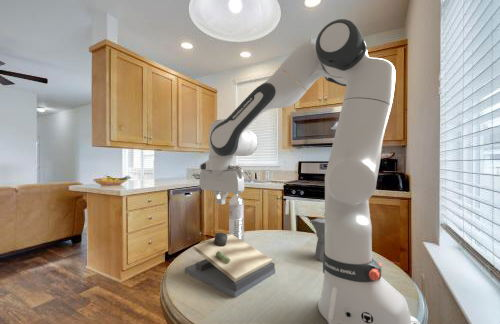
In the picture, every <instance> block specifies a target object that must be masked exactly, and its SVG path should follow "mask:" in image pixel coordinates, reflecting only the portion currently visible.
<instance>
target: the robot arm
mask: <svg viewBox="0 0 500 324" xmlns="http://www.w3.org/2000/svg"><path fill="white" fill-rule="evenodd" d="M321 78H325V81H327V82H329V83H333V84H336V85H339V86H341V87H342V86H343V87H345V88H346V89H345V92H344V97H343V101H342V106H341V108H340V113H339V117H338V120H337V125H336V129H335V134H334V138H333V142H332V147H331V150H330V155H329V158H328V159H329V160H328V162H327V167H326V171H325V173H324V214H325V215H324V218H325V251H324V252H323V262H322V273H323V281H322V288H321V293H320V297H319V301H318V304H317V307H318V308H317V309H318V311H319V313H320V315H322V317H323V318H324V319H325V320H326V322H327V324H421V323H420V321H419V320H418V319H417V318H416V317H414V316H412V315H411V312H410V309H409V305H408V303H407V300H406V298H405V297H404V295H402V293H400V292H399V291H398V290H397V289H395V288H394V287H393V286H392V284H391V283H389V282H387V280H386V279H384V277H382V265H383V264H382V261H380V262H379V263H378V262H377V261H376V260H375V259H374V258H373V255H372V254H373V248H372V247H373V244H372V243H373V237H372V236H373V235H372V234H373V226H372V221H371V213H370V202H369V201H370V200H369V199H370V198H371V197H372V196H373V194H374V193H375V191H376V188H377V181H378V176H379V169H380V165H381V159H382V158H381V157H382V149H383V148H382V147H383V142H384V141H383V140H384V137H385V131H386V128H387V124H388V120H389V116H390V113H391V109H392V105H393V100H394V95H395V87H396V86H395V85H396V69H395V66H394V65H393V63H392V62H390V61H389V60H387V59H384V58H381V57H380V58H379V57H371V56H369V53H368V48H367V44H366V41H365V40H364V37H363V34H362V32H361V30H360V29H359V27H358V26H357V25H356V24H355V23H354V22H353V21H352V20H349V19H344V18H340V19H339V18H338V19H336V20H333V21H331V22H329V23H328V24H326V25H325V26H324V27H323V28H322V29H321V30H320V32H319V33H318V35H317V38H316V40H315V42H312V41H305V42H303V43H302V44H299V46H298V47H297V48H295V49H294V50H293V51H292V52H291V53H290V54H289V55H288V56H287V58H285V60H283V62H282V63H281V64H280V66H279V67H277V69H276V71H275V72H273V74H272V75H271V76H270V77H269V78H268V79H267V80H265V82H263V83H261V84H260V85H258V86H257V87H255V89H253V91H251V92H250V94H249V95H247V97H245V99H244V100H243V101H242V102H241V103H240V104H239V105H238V106H237V107H236V109H234V110H233V112H232V113H231V114H230V115H229V116H228V117H227V118H226V119H225V118H224V119H218V120H215V121H213V122H212V123H211V124H210V127H209V132H208V147H209V154H208V160H206V161H204V162H202V163H201V164H199V170H200V172H199V188H200V190H202V191H204V190H205V191H212V192H213V195H214V197H215V201H216V202H215V203H216V204H217V205H226V199H227V197H228V194H229V193H231V194H235V193H239V194H242V193H243V192H244V191H245V179H244V173H243V168H242V167H241V166H240V165H234V157H235V156H236V157H248V156H251V155H252V154H254V153H255V152H256V150H257V148H258V145H259V139H258V136H257V134H256V133H255V131H253V130H251V129H248V128H249V127H250V125H252V124H253V123H254V122H255V120H257V118H258V117H259V116H261V115H262V114H264V113H265V112H266V111H269V110H273V109H282V108H289V107H292V106H293V105H295V103H297V102H298V101H299V100H301V99H302V97H304V96H305V94H306V93H307V91H309V89H310V88H311V87H312V86H313V84H314V83H315V82H316V81H317V80H319V79H321Z"/></svg>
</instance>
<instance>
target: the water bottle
mask: <svg viewBox="0 0 500 324" xmlns="http://www.w3.org/2000/svg"><path fill="white" fill-rule="evenodd" d="M239 194H240V193H234V195H233V196H232V197H230V199H229V201H228V203H229V206H228V207H229V209H228V210H229V211H228V215H229V216H228V235H231V234H232V235H234V236H235V237H237V238H239V239H240V240H242V241H243V242H245V241H244V240H245V209H244V208H245V200H244V199H243V197H242V196H241V195H239Z"/></svg>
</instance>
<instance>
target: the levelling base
mask: <svg viewBox="0 0 500 324" xmlns="http://www.w3.org/2000/svg"><path fill="white" fill-rule="evenodd" d="M184 273H186V274H188V275H190V276H192V277H194V278H195V279H198V280H199V281H202V282H203V283H205V284H208V285H209V286H211V287H213V288H215V289H217V290H220V291H221V292H223V293H225V294H227V295H229V296H230V297H233V298H237V297H238V296H240V295H242V294H244V293H246V292H247V291H248V290H250V289H251V288H253V287H255V286H257V285H259V283H261V282H264V281H265V280H266V279H268V278H269V277H271V276H272V275H274V274H276V268H275V263H274V262H271V263H270V264H268V265H266V266H264V267H262V268H260V269H259V270H257V271H255V272H253V273H251V274H249V275H247V276H246V277H244V278H242V279H240V280H238V281H236V282H234V281H233V280H232V279H230V278H229V277H228V276H227V275H225V274H224V273H223V272H222V271H220V270H219V269H218V268H217V267H215V266H214V265H213V264H212V263H210V262H209V261H208V260H207V259H205V258H204V259H202V260H200V261H197V262H196V263H194V264H191V265H188V266H186V267H184Z"/></svg>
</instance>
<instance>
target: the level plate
mask: <svg viewBox="0 0 500 324" xmlns="http://www.w3.org/2000/svg"><path fill="white" fill-rule="evenodd" d="M193 250H194V251H196V252H197V253H198V254H199V255H200V256H201V257H203V258H204V260H205V259H207V260H208V261H209V262H210V263H212V264H213V265H214V266H215V267H217V268H218V269H219V270H220V271H222V272H223V273H224V274H225V275H227V276H228V277H229V278H230V279H232V280H233V281H234V282H236V281H238V280H240V279H242V278H244V277H246V276H247V275H249V274H251V273H253V272H255V271H257V270H259V269H260V268H262V267H264V266H266V265H268V264H270V263H271V262H272V261H273V259H272V258H271V257H270V256H268V255H265V254H264V253H263V252H261V251H259V250H257V249H256V248H254V247H253V246H251V245H249V244H248V243H246V242H245V241H244V242H243V241H242V240H240V239H239V238H237V237H235V236H234V235H232V234H231V235H229V234H228V235H227V234H226V233H223V232H216V233H215V235H214V239H213V240H210V241H206V242H203V243H200V244H196V245H194V246H193ZM272 263H273V262H272Z"/></svg>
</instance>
